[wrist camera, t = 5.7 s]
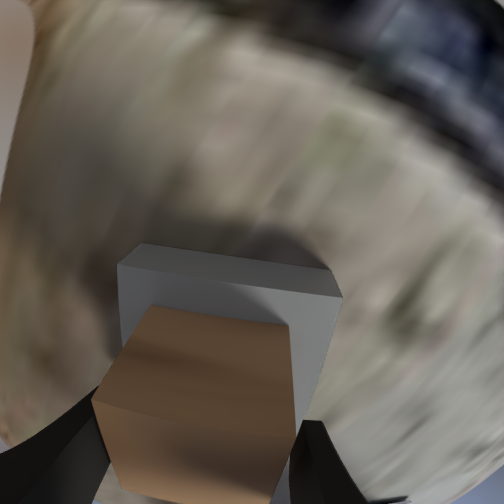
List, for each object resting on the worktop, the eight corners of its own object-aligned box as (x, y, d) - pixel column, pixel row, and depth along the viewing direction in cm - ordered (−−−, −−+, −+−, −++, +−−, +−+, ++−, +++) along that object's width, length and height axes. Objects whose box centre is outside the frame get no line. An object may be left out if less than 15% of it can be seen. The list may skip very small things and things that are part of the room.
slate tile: (293, 399, 16) (295, 441, 14) (148, 377, 16) (131, 414, 14) (329, 265, 14) (343, 298, 11) (145, 239, 14) (117, 264, 11)
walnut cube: (267, 417, 13) (263, 514, 8) (156, 399, 13) (121, 488, 8) (288, 325, 11) (296, 437, 7) (150, 305, 11) (90, 399, 7)
